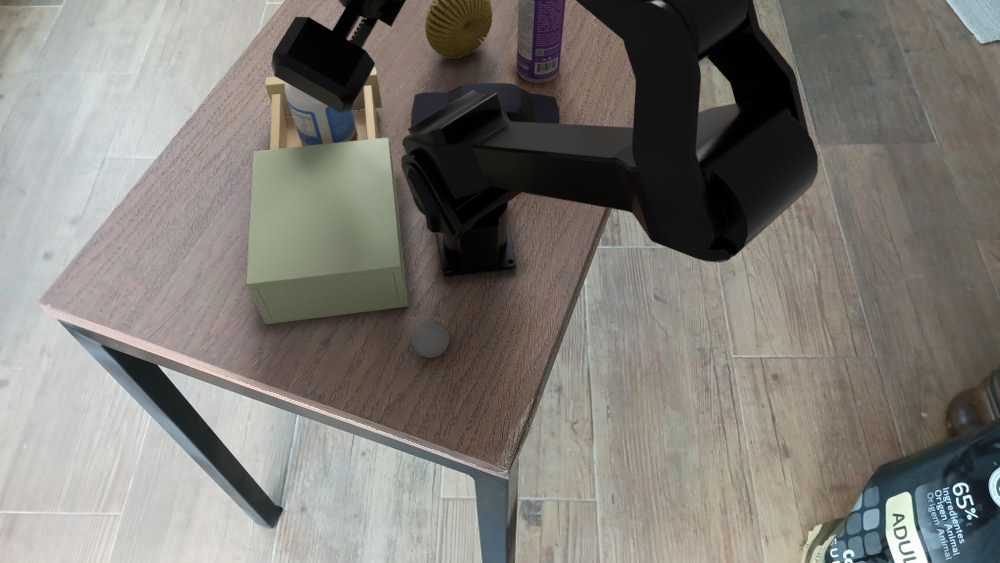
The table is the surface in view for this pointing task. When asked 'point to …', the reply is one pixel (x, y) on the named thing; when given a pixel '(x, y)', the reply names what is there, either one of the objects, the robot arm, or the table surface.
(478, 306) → the table surface
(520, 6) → the container
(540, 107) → the toy car
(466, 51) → the sculpture
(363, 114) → the drawer
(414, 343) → the rubber ball
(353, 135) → the pill bottle
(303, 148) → the cabinet
